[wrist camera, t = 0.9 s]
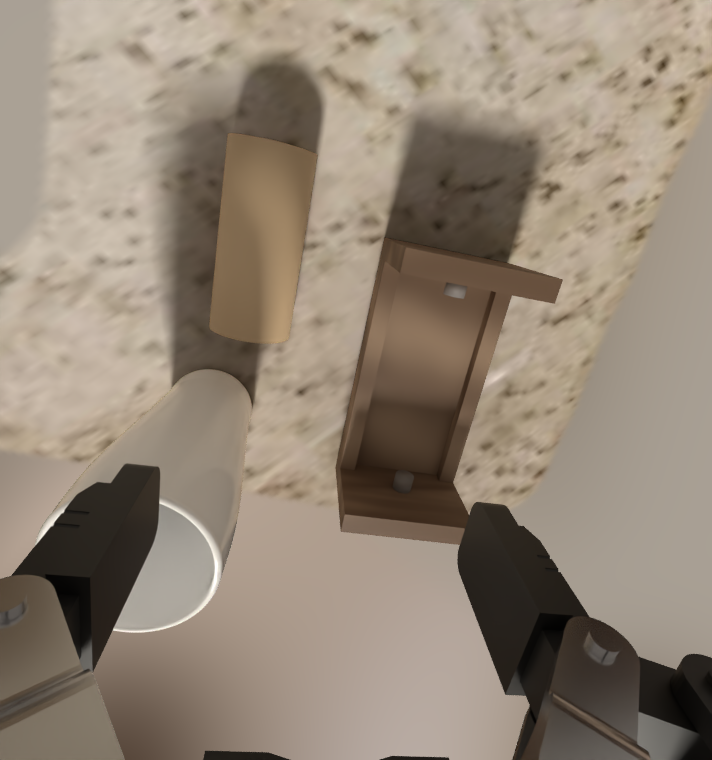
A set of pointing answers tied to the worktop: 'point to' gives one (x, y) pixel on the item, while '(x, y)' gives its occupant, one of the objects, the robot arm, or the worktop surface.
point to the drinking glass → (181, 494)
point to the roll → (260, 238)
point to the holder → (422, 387)
